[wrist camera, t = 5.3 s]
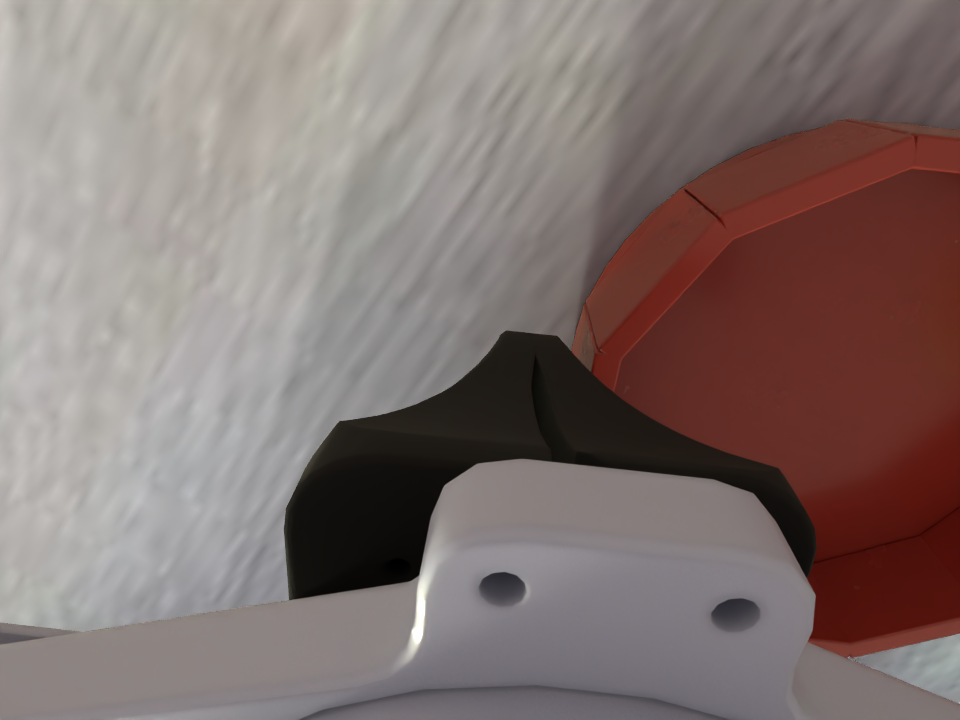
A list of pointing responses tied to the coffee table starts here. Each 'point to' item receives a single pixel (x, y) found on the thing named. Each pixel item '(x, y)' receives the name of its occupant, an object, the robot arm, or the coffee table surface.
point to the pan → (814, 354)
